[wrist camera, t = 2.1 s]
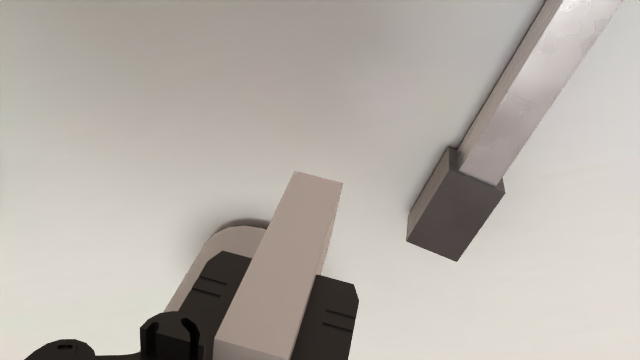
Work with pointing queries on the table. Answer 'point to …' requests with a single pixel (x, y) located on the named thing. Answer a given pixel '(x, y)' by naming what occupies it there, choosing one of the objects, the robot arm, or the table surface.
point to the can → (229, 240)
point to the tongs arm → (504, 126)
